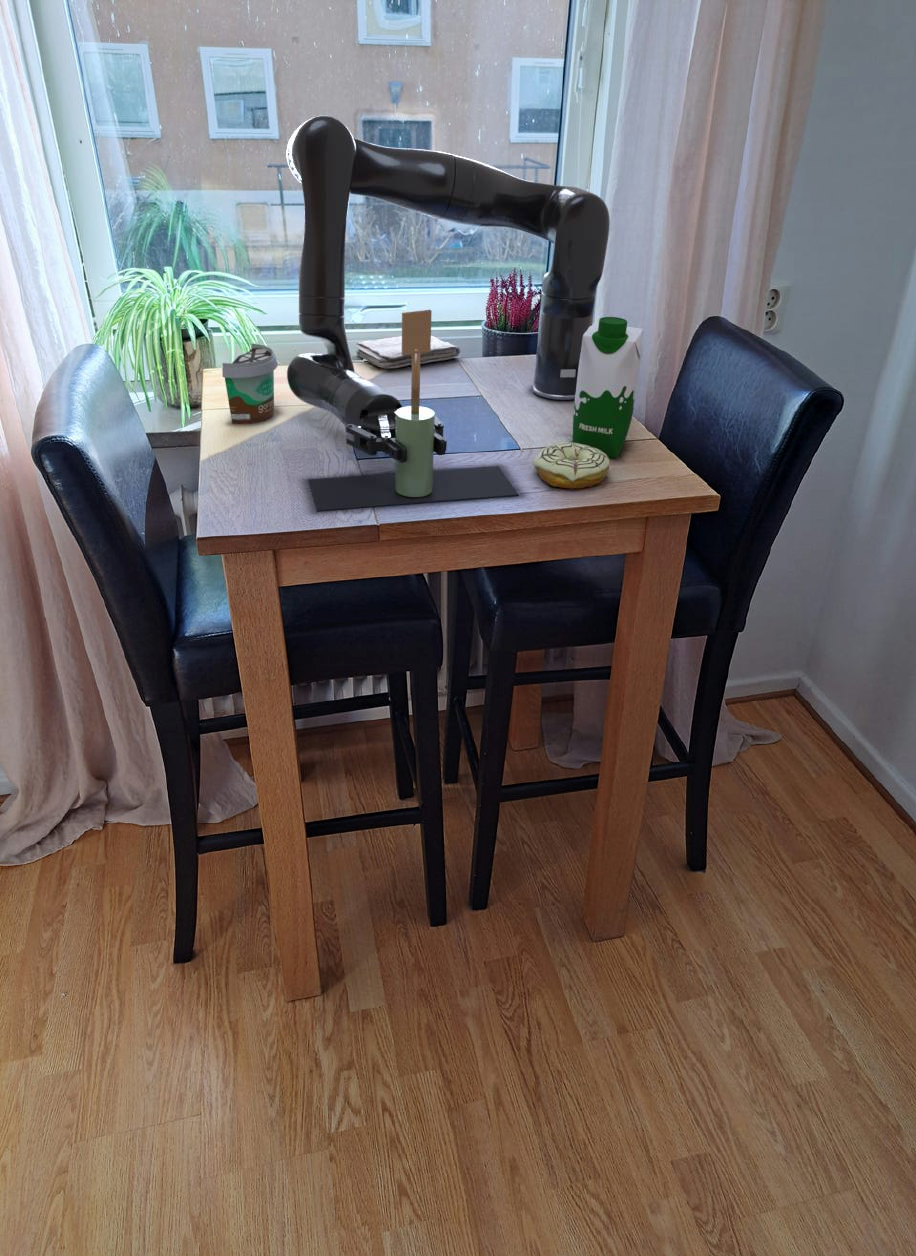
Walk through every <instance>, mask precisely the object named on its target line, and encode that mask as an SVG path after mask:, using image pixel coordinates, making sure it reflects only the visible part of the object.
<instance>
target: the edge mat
mask: <svg viewBox="0 0 916 1256" xmlns="http://www.w3.org/2000/svg"><path fill="white" fill-rule="evenodd" d="M307 481H308V483H309V484H308V485H309V487H310V491H311V494H312V499H313V502H314V506H315V510H316V512H329V511H341V510H342V511H343V510H353V509H354V510H355V509H367V508H380V507H391V506H405V505H417V504H430V503H431V504H432V503H442V502H443V503H444V502H454V501H457V502H458V501H470V500H480V499H481V500H482V499H483V500H484V499H493V498H494V499H496V498H507V497H519V495H520V494H519V493H518V491H517V489H516V488H515V487H514V486H513V484H512V483H511V481H510V480H509V479H508V477H507V476H506V475H505V473H504V472H503V470H502V469H501V468H500V466H499V465H495V466H494V465H493V466H481V467H480V466H479V467H469V468H468V467H464V468H453V469H452V468H451V469H438V470H437V469H436V470H435V469H434V470H433V490H432V492H431V493H430V494H428V495H426V496H422V497H407V496H403V495H401V494H399V493H397V492H396V490H395V472H393V473H380V474H366V475H353V476H352V475H350V476H337V477H323V478H310V479H309V478H308V480H307Z"/></svg>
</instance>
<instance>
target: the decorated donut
mask: <svg viewBox="0 0 916 1256" xmlns="http://www.w3.org/2000/svg"><path fill="white" fill-rule="evenodd" d="M610 465H611V461H610V458H609V457H607V455H606V454H605V453H603V452H602V451H600V450H599V449H597V448H593V447H590V446H588V445H584V444H579V443H573V441H572V442H571V441H566V442H558V443H557V442H556V443H553V444H550V445H548V446H546V447H544V448H542V449H541V450H540V451H539V453H538V454H537V455H536V456H535V458H534V461H533V467H534V469H535V470H536V471H537V474H538V475H539V477H540V478H541V480H542V481H544V482H545V483H547V485H550V486H552V487H553V488H554V487H555V488H563V489H583V488H588V487H592V486H593V485H596V484H599V483H601V482H602V481H603V480H604V479H605V478H606V476H607V474H608V473H609V471H610Z"/></svg>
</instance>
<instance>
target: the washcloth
mask: <svg viewBox="0 0 916 1256" xmlns="http://www.w3.org/2000/svg"><path fill="white" fill-rule="evenodd" d="M355 347H356V349H357V350H356V351H355V353H356V355H357V356H358V357H360V358H362V359H363V360H365V361H366V362H368V363H370V364H373V365H374V366H376V367H379V368H382V369H386V370H389V369H398V368H404V367H407V366H412V355H406V356H402V335H400V336H393V337H385V338H381V339H380V338H379V339H372V340H365V341H364V340H362V341H360V342H357V343H356V345H355ZM460 354H461V349H460V347H458V346H456V345H454V344H452V343H449V342H448V341H442V340H441V339H440V338H438V337H436V336H433V335H431V352H428V353H421V355H420V365H423V364H429V363H433V362H440V361H446V360H447V361H448V360H452V359H455V358H457V357H458V356H459V355H460Z"/></svg>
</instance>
